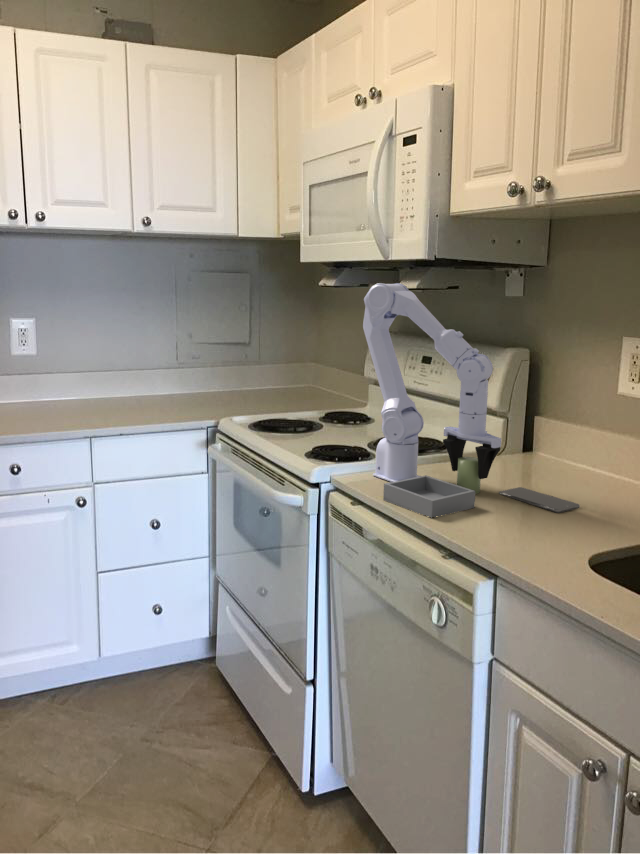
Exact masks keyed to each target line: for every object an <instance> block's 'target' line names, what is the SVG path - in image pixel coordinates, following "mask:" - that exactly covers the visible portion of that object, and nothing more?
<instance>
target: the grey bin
mask: <svg viewBox="0 0 640 854" xmlns="http://www.w3.org/2000/svg"><path fill="white" fill-rule="evenodd" d="M419 476H420V477H415V478H410V479H405V480H400V481H395V482H390V481H389V482H386V483H383V496H382V497H383V499H382V500H383V501H385V502H388V503H391V504H393V505H395V504H396V506H398V507H401V508H404V509H405V508H406V509H405V510H408V509H409V510H408V511H411V510H412V511H411V512H413V511H414V512H413V513H416V512H417V513H416V514H419V513H420V515H421V514H423V515H422V516H424V515H426V516H429V517H431V518H430V519H433V518H432V517H435V518H437V517H436V516H439V517H442V516H441V515H443V516H446V515H445V514H447V515H450V513H451V514H455V513H459V512H463V511H466V510H470V509H475V505H476V504H475V502H476V494H475V491H474V490H471V489H467V488H464V487H461V486H458V485H457V484H454V483H451V482H449V481H446V480H442V479H439V478H436V477H433V476H430V475H425V474H424V475H419ZM458 511H459V512H458ZM454 512H455V513H454ZM426 516H425V517H426ZM429 517H428V518H429Z"/></svg>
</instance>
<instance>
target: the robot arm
mask: <svg viewBox="0 0 640 854" xmlns="http://www.w3.org/2000/svg"><path fill="white" fill-rule="evenodd" d="M363 301H364V302H363V303H364V306H365V309H364V315H363V323H362V328H363V332H364V336H365V340H366V342H367V343H366V344H367V346H368V350H369V354H370V357H371V361H372V363H373V368H374V371H375V374H376V379H377V381H378V385H379V389H380V391H381V395H382V398H383V406H382V409H381V411H380V414H381V420H382V424H381V431H382V432H381V433H382V435H383V436H384V437H383V438H382V439H380V440H379V442H378V443H377V445H376V451H375V472H374V473H372V476H373V477H376V478H379V479H381V480H382V479H383V480H384V481H387V482H389V483H390V482H395V481H400V480H405V479H410V478H415V477H420V476H421V475H419V474H418V455H419V434H420V433H421V432H422V431H423V428H424V422H425V421H424V418H423V415H422V414H421V413H420V411H418V409H417V407H416V404H415V401H414V400H413V399H411V398H410V396H409V395H408V393H407V390H406V385H405V383H404V379H403V375H402V371H401V368H400V364H399V361H398V359H397V358H398V357H397V355H396V349H395V348H394V344H393V340H392V337H391V333H390V330H389V329H390V327H391V325H392V324H393V322H394V321H395V319H396V317H398V316H403V317H406V318H409V319H410V320H411V321H412V322H413V323H414V324H415V325H417V326H418V327H419V329H421V330H422V331H423V332H425V333H426V334H427V335H428V336H429V337H430V338H431V339H432V340H433V341H434V350H436V351H437V353H438V354H439V355H440V356H442V358H443V359H445V360H446V362H448V364H449V365H450V366H451V367H452V368H453V369H454V370H456V375H457V378H458V379H459V381H460V390H459V391H460V392H459V409H458V410H459V411H458V412H459V413H458V427H454V426H445V427H443V436H444V437H446V438H445V439H444V438H443V439H442V443H443V446H444V447H445V449H446V451H447V454H448V457H449V458H448V459H449V461H450V467H451V471H452V472H457V471H458V458H460V457H464V456H463V455H464V450H465V446H466V443H467V441H468V442H472V443H475V444H480V446H475V453H476V456H477V457H476V458H478V477H479V479H481V480H483V479H487V478H488V476H489V473H490V471H491V470H490V469H491V467H492V465H493V463H494V460H495V459H496V458H497V455H498V454H499V452H500V451H501V447H502V438H501V437H498V436H496V435H492V434H491V433H488V430H487V429H486V427H487V413H488V396H489V395H488V394H489V378H490V377H491V376H492V374H493V371H494V367H493V363H492V361H491V359H490V358H489V357H488V355H487V354H486V355H485V354H483V353H479V352H480V350H479V349H478V348H477V347H475V348H473V347H472V346H471V344H470V343H468V341H467V340H466V339H464V338H463V337H464V334H463V332H461V331H460V330H459V331H456V330H455V329H450V328H449V329H446V328H445V327H444V326H443V324H442V323H441V322H440V321H439V320H438V319H437V318H436V317H435V316H434V315H433V313H431V311H430V310H429V309H428V308H427V307H426V306H425V305H424V303H422V302H421V301H420V300H419V298H418V297H417V296H416V294H415V293H414V292H413V291H411V290H409V288H408V287H407V286H406V285H405V284H402V283H399V282H396V283H384V282H383V283H382V282H379V283H378V282H377V283H376V284H374V285H372V286H371V287H370V288H369V290H368V292H367V293H366V295H365V296H364V298H363Z"/></svg>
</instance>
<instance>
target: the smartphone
mask: <svg viewBox="0 0 640 854" xmlns="http://www.w3.org/2000/svg"><path fill="white" fill-rule="evenodd" d="M498 495H500V496H503V497H507V498H509V499H513V500H515V501H519V502H521V503H523V504H528V505H529V506H534V507H537V508H539V509H542V510H545V511H549V512H552V513H555V514H562V513H565V512H569V511H573V510H578V509H580V507H581V504H580V503H577V502H574V501H570V500H566V499H564V498H559V497H556V496H553V495H549V494H546V493H542V492H539V491H535V490H532V489H529V488H525V487H522V486H521V487H513V488H510V489H505V490H500V491H498Z"/></svg>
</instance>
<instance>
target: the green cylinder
mask: <svg viewBox="0 0 640 854" xmlns="http://www.w3.org/2000/svg"><path fill="white" fill-rule="evenodd" d="M481 480H482V479H479V477H478V457H474V456H463V457H460V458H458V471H456V485H458V486H461V487H464V488H467V489H471V490H474V491H475V495H476V494H479V493H481Z"/></svg>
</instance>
